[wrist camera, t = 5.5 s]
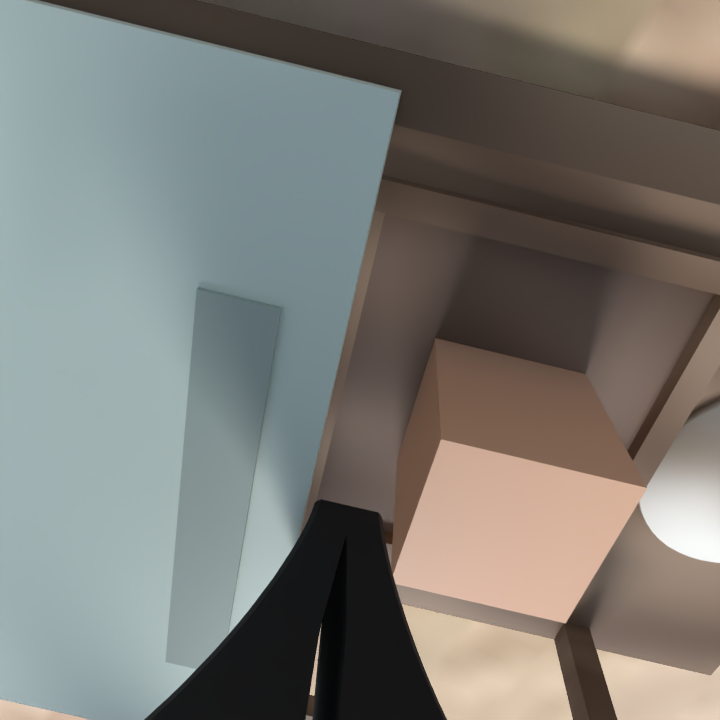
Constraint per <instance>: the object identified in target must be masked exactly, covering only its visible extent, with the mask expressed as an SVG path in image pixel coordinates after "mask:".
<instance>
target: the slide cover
mask: <svg viewBox="0 0 720 720" xmlns="http://www.w3.org/2000/svg"><path fill="white" fill-rule="evenodd" d="M401 91H402V90H398V89H394V88H390V87H386V86H382V85H378V84H374V83H370V82H366V81H362V80H358V79H354V78H350V77H346V76H342V75H338V74H334V73H330V72H326V71H322V70H318V69H314V68H310V67H306V66H302V65H297V64H293V63H289V62H285V61H281V60H277V59H273V58H269V57H265V56H261V55H257V54H253V53H249V52H245V51H241V50H237V49H233V48H229V47H225V46H221V45H217V44H213V43H209V42H205V41H201V40H197V39H193V38H189V37H185V36H181V35H176V34H172V33H168V32H164V31H160V30H156V29H152V28H148V27H144V26H140V25H136V24H132V23H128V22H124V21H120V20H116V19H112V18H108V17H104V16H100V15H96V14H92V13H88V12H84V11H80V10H76V9H72V8H68V7H64V6H59V5H55V4H51V3H47V2H43V1H39V0H0V699H2V700H7V701H11V702H16V703H20V704H24V705H29V706H33V707H38V708H42V709H47V710H51V711H56V712H60V713H64V714H69V715H73V716H78V717H82V718H87V719H91V720H144V719H145V718H146V717H148V716H149V715H150V714H151V713H152V712H153V711H154V710H155V709H156V708H157V707H158V706H160V705H161V704H162V703H163V702H164V701H165V700H166V699H167V698H168V697H169V696H170V695H171V694H172V693H173V692H174V691H176V690H177V689H178V688H179V687H180V686H181V685H182V684H183V683H184V682H185V681H186V680H187V679H188V678H189V677H190V676H191V674H192V673H193V672H194V671H195V670H196V669H197V668H198V667H199V666H200V665H201V664H202V663H203V662H204V661H205V660H206V659H207V658H208V657H209V656H210V655H211V653H212V652H213V651H214V650H215V649H216V648H217V647H218V646H219V645H220V644H221V642H222V641H223V640H224V639H225V638H226V637H227V636H228V634H229V633H230V632H231V631H232V630H233V629H234V627H235V626H236V625H237V624H238V623H239V622H240V620H241V619H242V618H243V617H244V615H245V614H246V613H247V612H248V611H249V609H250V608H251V607H252V605H253V604H254V603H255V601H256V600H257V599H258V597H259V596H260V595H261V593H262V592H263V591H264V589H265V588H266V587H267V585H268V584H269V583H270V581H271V580H272V579H273V577H274V576H275V574H276V573H277V571H278V570H279V568H280V567H281V565H282V564H283V562H284V561H285V559H286V558H287V556H288V555H289V553H290V552H291V550H292V548H293V547H294V545H295V543H296V542H297V540H298V538H299V536H300V532H301V528H302V523H303V519H304V514H305V510H306V506H307V501H308V497H309V493H310V488H311V484H312V480H313V475H314V471H315V466H316V462H317V458H318V453H319V449H320V445H321V440H322V436H323V432H324V427H325V423H326V418H327V414H328V410H329V405H330V401H331V397H332V392H333V388H334V384H335V379H336V375H337V370H338V366H339V362H340V357H341V353H342V349H343V344H344V340H345V336H346V331H347V327H348V322H349V318H350V314H351V309H352V305H353V301H354V296H355V292H356V288H357V283H358V279H359V274H360V270H361V266H362V261H363V257H364V253H365V248H366V244H367V240H368V235H369V231H370V226H371V222H372V218H373V213H374V209H375V205H376V200H377V196H378V192H379V187H380V183H381V178H382V174H383V170H384V165H385V161H386V157H387V152H388V148H389V144H390V139H391V135H392V130H393V126H394V122H395V117H396V113H397V109H398V104H399V100H400V96H401Z"/></svg>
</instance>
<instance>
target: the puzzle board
mask: <svg viewBox="0 0 720 720" xmlns="http://www.w3.org/2000/svg"><path fill="white" fill-rule="evenodd" d="M39 1H43V2H47V3H51V4H55V5H59V6H64V7H68V8H72V9H76V10H80V11H84V12H88V13H92V14H96V15H100V16H104V17H108V18H112V19H116V20H120V21H124V22H128V23H132V24H136V25H140V26H144V27H148V28H152V29H156V30H160V31H164V32H168V33H172V34H176V35H181V36H185V37H189V38H193V39H197V40H201V41H205V42H209V43H213V44H217V45H221V46H225V47H229V48H233V49H237V50H241V51H245V52H249V53H253V54H257V55H261V56H265V57H269V58H273V59H277V60H281V61H285V62H289V63H293V64H297V65H302V66H306V67H310V68H314V69H318V70H322V71H326V72H330V73H334V74H338V75H342V76H346V77H350V78H354V79H358V80H362V81H366V82H370V83H374V84H378V85H382V86H386V87H390V88H394V89H398V90H402V91H401V96H400V100H399V104H398V109H397V113H396V117H395V122H394V126H393V130H392V135H391V139H390V144H389V148H388V152H387V157H386V161H385V165H384V170H383V174H382V178H381V183H380V187H379V192H378V196H377V200H376V205H375V209H374V213H373V218H372V222H371V226H370V231H369V235H368V240H367V244H366V248H365V253H364V257H363V261H362V266H361V270H360V274H359V279H358V283H357V288H356V292H355V296H354V301H353V305H352V309H351V314H350V318H349V322H348V327H347V331H346V336H345V340H344V344H343V349H342V353H341V357H340V362H339V366H338V370H337V375H336V379H335V384H334V388H333V392H332V397H331V401H330V405H329V410H328V414H327V418H326V423H325V427H324V432H323V436H322V440H321V445H320V449H319V453H318V458H317V462H316V466H315V471H314V475H313V480H312V484H311V488H310V493H309V497H308V501H307V506H306V510H305V514H304V519H303V523H302V528H301V532H300V535H301V533H302V531H303V529H304V527H305V525H306V523H307V521H308V519H309V517H310V514H311V512H312V509H313V506H314V503H315V502H316V501H318V500H320V499H323V500H327V501H331V502H336V503H340V504H344V505H349V506H353V507H357V508H362V509H366V510H370V511H374V512H379V514H380V515H381V517H382V520H383V529H384V536H385V541H386V546H387V551H388V556H389V560H390V564H391V559H392V542H393V524H394V507H395V490H396V472H397V458H398V455H399V452H400V448H401V445H402V442H403V439H404V436H405V433H406V429H407V426H408V423H409V420H410V417H411V414H412V410H413V407H414V404H415V401H416V398H417V395H418V391H419V388H420V385H421V382H422V379H423V376H424V372H425V369H426V366H427V363H428V360H429V357H430V353H431V350H432V347H433V344H434V341H435V338H437V339H441V340H445V341H450V342H454V343H458V344H462V345H466V346H470V347H475V348H479V349H483V350H487V351H491V352H495V353H500V354H504V355H508V356H512V357H516V358H520V359H525V360H529V361H533V362H537V363H541V364H545V365H550V366H554V367H558V368H562V369H566V370H570V371H575V372H579V373H583V374H586V376H587V378H588V379H589V381H590V383H591V385H592V387H593V389H594V390H595V392H596V394H597V396H598V398H599V400H600V402H601V403H602V405H603V407H604V409H605V411H606V413H607V414H608V416H609V418H610V420H611V422H612V424H613V426H614V427H615V429H616V431H617V433H618V435H619V437H620V439H621V440H622V442H623V444H624V446H625V448H626V450H627V451H628V453H629V455H630V457H631V459H632V461H633V463H634V464H635V466H636V468H637V470H638V472H639V474H640V475H641V477H642V479H643V481H644V483H645V485H646V487H647V489H646V491H645V493H644V494H643V496H642V498H641V499H640V501H639V503H638V504H637V506H636V508H635V509H634V511H633V513H632V514H631V516H630V518H629V519H628V521H627V523H626V524H625V526H624V528H623V529H622V531H621V532H620V534H619V536H618V537H617V539H616V541H615V542H614V544H613V546H612V547H611V549H610V551H609V552H608V554H607V556H606V557H605V559H604V561H603V562H602V564H601V566H600V567H599V569H598V571H597V572H596V574H595V575H594V577H593V579H592V580H591V582H590V584H589V585H588V587H587V589H586V590H585V592H584V594H583V595H582V597H581V599H580V600H579V602H578V604H577V605H576V607H575V609H574V610H573V612H572V614H571V615H570V617H569V618H568V620H567V622H566V623H561V622H557V621H553V620H549V619H544V618H540V617H536V616H531V615H527V614H523V613H518V612H514V611H510V610H505V609H501V608H497V607H492V606H488V605H484V604H480V603H475V602H471V601H467V600H462V599H458V598H454V597H449V596H445V595H441V594H436V593H432V592H428V591H423V590H419V589H415V588H411V587H406V586H402V585H398V584H396V587H397V591H398V594H399V597H400V601H401V604H404V605H408V606H413V607H417V608H421V609H426V610H430V611H434V612H439V613H443V614H447V615H452V616H456V617H460V618H465V619H469V620H473V621H478V622H482V623H486V624H491V625H495V626H499V627H503V628H508V629H512V630H516V631H521V632H525V633H529V634H534V635H538V636H542V637H547V638H551V639H554V640H555V644H556V649H557V653H558V657H559V661H560V666H561V670H562V674H563V678H564V683H565V687H566V691H567V695H568V700H569V704H570V708H571V712H572V717H573V720H617V717H616V714H615V711H614V707H613V704H612V701H611V697H610V694H609V691H608V688H607V684H606V681H605V678H604V674H603V671H602V668H601V664H600V661H599V658H598V655H597V651H596V649H599V650H603V651H607V652H612V653H616V654H620V655H625V656H629V657H633V658H638V659H642V660H646V661H650V662H655V663H659V664H663V665H668V666H672V667H676V668H681V669H685V670H689V671H694V672H698V673H702V674H707V675H712V673H713V672H714V671H715V670H716V669H717V668H718V666H719V665H720V131H719V130H715V129H711V128H707V127H703V126H699V125H695V124H691V123H687V122H683V121H679V120H675V119H671V118H667V117H663V116H659V115H655V114H651V113H647V112H643V111H639V110H635V109H631V108H627V107H622V106H618V105H614V104H610V103H606V102H602V101H598V100H594V99H590V98H586V97H582V96H578V95H574V94H570V93H566V92H562V91H558V90H554V89H550V88H546V87H542V86H538V85H534V84H530V83H526V82H522V81H518V80H514V79H510V78H506V77H502V76H498V75H494V74H490V73H486V72H482V71H478V70H474V69H470V68H466V67H462V66H458V65H454V64H450V63H446V62H442V61H438V60H434V59H430V58H426V57H422V56H418V55H414V54H410V53H406V52H402V51H398V50H394V49H390V48H386V47H382V46H378V45H374V44H370V43H366V42H362V41H358V40H354V39H350V38H346V37H342V36H338V35H334V34H329V33H325V32H321V31H317V30H313V29H309V28H305V27H301V26H297V25H293V24H289V23H285V22H281V21H277V20H273V19H269V18H265V17H261V16H257V15H253V14H249V13H245V12H241V11H237V10H233V9H229V8H225V7H221V6H217V5H213V4H209V3H205V2H201V1H197V0H39ZM314 698H315V696H312V695H309V700H308V706H307V713H306V719H305V720H312V719H313V708H314Z"/></svg>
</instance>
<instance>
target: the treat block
mask: <svg viewBox="0 0 720 720" xmlns="http://www.w3.org/2000/svg"><path fill="white" fill-rule="evenodd" d="M646 489H647V487H646V485H645V483H644V481H643V479H642V477H641V475H640V474H639V472H638V470H637V468H636V466H635V464H634V463H633V461H632V459H631V457H630V455H629V453H628V451H627V450H626V448H625V446H624V444H623V442H622V440H621V439H620V437H619V435H618V433H617V431H616V429H615V427H614V426H613V424H612V422H611V420H610V418H609V416H608V414H607V413H606V411H605V409H604V407H603V405H602V403H601V402H600V400H599V398H598V396H597V394H596V392H595V390H594V389H593V387H592V385H591V383H590V381H589V379H588V378H587V376H586V374H583V373H579V372H575V371H570V370H566V369H562V368H558V367H554V366H550V365H545V364H541V363H537V362H533V361H529V360H525V359H520V358H516V357H512V356H508V355H504V354H500V353H495V352H491V351H487V350H483V349H479V348H475V347H470V346H466V345H462V344H458V343H454V342H450V341H445V340H441V339H437V338H435V341H434V344H433V347H432V350H431V353H430V357H429V360H428V363H427V366H426V369H425V372H424V376H423V379H422V382H421V385H420V388H419V391H418V395H417V398H416V401H415V404H414V407H413V410H412V414H411V417H410V420H409V423H408V426H407V429H406V433H405V436H404V439H403V442H402V445H401V448H400V452H399V455H398V458H397V472H396V490H395V507H394V524H393V542H392V559H391V569H392V573H393V577H394V580H395V584H398V585H402V586H406V587H411V588H415V589H419V590H423V591H428V592H432V593H436V594H441V595H445V596H449V597H454V598H458V599H462V600H467V601H471V602H475V603H480V604H484V605H488V606H492V607H497V608H501V609H505V610H510V611H514V612H518V613H523V614H527V615H531V616H536V617H540V618H544V619H549V620H553V621H557V622H561V623H566V622H567V620H568V618H569V617H570V615H571V614H572V612H573V610H574V609H575V607H576V605H577V604H578V602H579V600H580V599H581V597H582V595H583V594H584V592H585V590H586V589H587V587H588V585H589V584H590V582H591V580H592V579H593V577H594V575H595V574H596V572H597V571H598V569H599V567H600V566H601V564H602V562H603V561H604V559H605V557H606V556H607V554H608V552H609V551H610V549H611V547H612V546H613V544H614V542H615V541H616V539H617V537H618V536H619V534H620V532H621V531H622V529H623V528H624V526H625V524H626V523H627V521H628V519H629V518H630V516H631V514H632V513H633V511H634V509H635V508H636V506H637V504H638V503H639V501H640V499H641V498H642V496H643V494H644V493H645V491H646Z"/></svg>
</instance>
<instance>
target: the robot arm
mask: <svg viewBox="0 0 720 720" xmlns="http://www.w3.org/2000/svg"><path fill="white" fill-rule="evenodd" d="M321 623H322V625H321ZM320 627H321V635H320V645H319V656H318V666H317V677H316V687H315V698H314V708H313V719H312V720H447V719H446V717H445V715H444V712H443V710H442V708H441V706H440V704H439V702H438V700H437V697H436V695H435V693H434V690H433V688H432V686H431V684H430V681H429V679H428V677H427V674H426V672H425V669H424V667H423V664H422V662H421V659H420V656H419V654H418V651H417V649H416V646H415V643H414V640H413V637H412V635H411V632H410V629H409V626H408V623H407V620H406V617H405V614H404V611H403V608H402V604H401V601H400V597H399V594H398V591H397V587H396V584H395V580H394V577H393V573H392V569H391V564H390V560H389V556H388V551H387V546H386V541H385V536H384V529H383V520H382V517H381V515H380V514H379V512H374V511H370V510H366V509H362V508H357V507H353V506H349V505H344V504H340V503H336V502H331V501H327V500H323V499H320V500H318V501H316V502H315V503H314V506H313V509H312V512H311V514H310V517H309V519H308V521H307V523H306V525H305V527H304V529H303V531H302V533H301V535H300V536H299V538H298V540H297V542H296V543H295V545H294V547H293V548H292V550H291V552H290V553H289V555H288V556H287V558H286V559H285V561H284V562H283V564H282V565H281V567H280V568H279V570H278V571H277V573H276V574H275V576H274V577H273V579H272V580H271V581H270V583H269V584H268V585H267V587H266V588H265V589H264V591H263V592H262V593H261V595H260V596H259V597H258V599H257V600H256V601H255V603H254V604H253V605H252V607H251V608H250V609H249V611H248V612H247V613H246V614H245V615H244V617H243V618H242V619H241V620H240V622H239V623H238V624H237V625H236V626H235V627H234V629H233V630H232V631H231V632H230V633H229V634H228V636H227V637H226V638H225V639H224V640H223V641H222V642H221V644H220V645H219V646H218V647H217V648H216V649H215V650H214V651H213V652H212V653H211V655H210V656H209V657H208V658H207V659H206V660H205V661H204V662H203V663H202V664H201V665H200V666H199V667H198V668H197V669H196V670H195V671H194V672H193V673H192V674H191V676H190V677H189V678H188V679H187V680H186V681H185V682H184V683H183V684H182V685H181V686H180V687H179V688H178V689H177V690H176V691H174V692H173V693H172V694H171V695H170V696H169V697H168V698H167V699H166V700H165V701H164V702H163V703H162V704H161V705H160V706H158V707H157V708H156V709H155V710H154V711H153V712H152V713H151V714H150V715H149V716H148V717H146V718H145V719H144V720H305V719H306V713H307V706H308V700H309V693H310V687H311V680H312V674H313V668H314V661H315V655H316V649H317V643H318V636H319V632H320Z"/></svg>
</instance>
